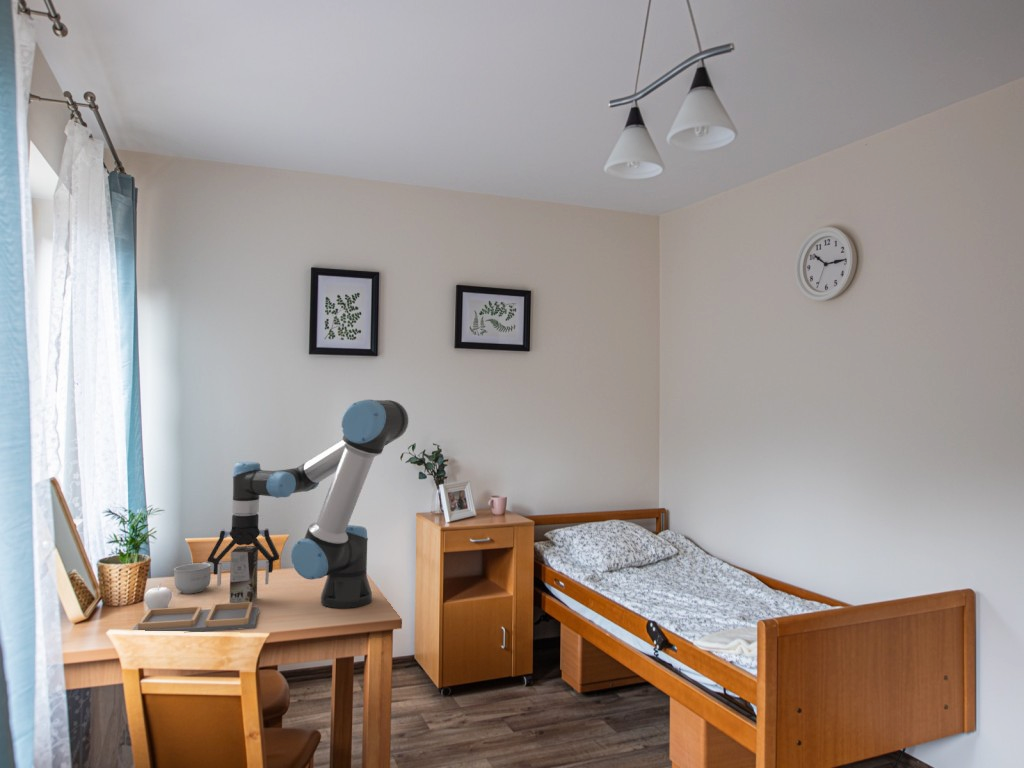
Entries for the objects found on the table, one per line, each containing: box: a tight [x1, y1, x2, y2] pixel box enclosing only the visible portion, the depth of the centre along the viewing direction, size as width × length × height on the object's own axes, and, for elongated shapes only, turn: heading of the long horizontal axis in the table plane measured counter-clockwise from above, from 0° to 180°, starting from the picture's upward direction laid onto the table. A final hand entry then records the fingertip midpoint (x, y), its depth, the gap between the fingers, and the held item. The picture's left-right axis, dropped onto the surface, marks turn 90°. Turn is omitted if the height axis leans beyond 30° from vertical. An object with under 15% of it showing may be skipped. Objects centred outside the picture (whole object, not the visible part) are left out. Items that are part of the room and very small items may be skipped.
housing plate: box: [132, 602, 260, 632], centre depth 199 cm, size 30×17×2 cm, turn 105°
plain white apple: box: [144, 581, 173, 610], centre depth 210 cm, size 7×7×8 cm
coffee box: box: [228, 545, 259, 603], centre depth 219 cm, size 9×6×16 cm
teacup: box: [173, 561, 212, 594], centre depth 232 cm, size 14×11×8 cm
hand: (243, 584), depth 219 cm, fingers open, 13 cm apart
